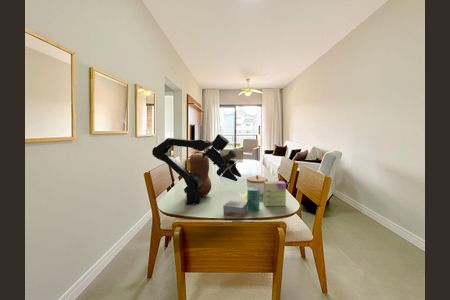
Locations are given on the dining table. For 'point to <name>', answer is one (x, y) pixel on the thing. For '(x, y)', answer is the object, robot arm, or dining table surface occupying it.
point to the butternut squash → (201, 172)
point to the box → (274, 193)
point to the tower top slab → (235, 206)
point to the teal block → (253, 199)
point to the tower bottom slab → (235, 213)
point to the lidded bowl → (256, 183)
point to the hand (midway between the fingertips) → (239, 178)
